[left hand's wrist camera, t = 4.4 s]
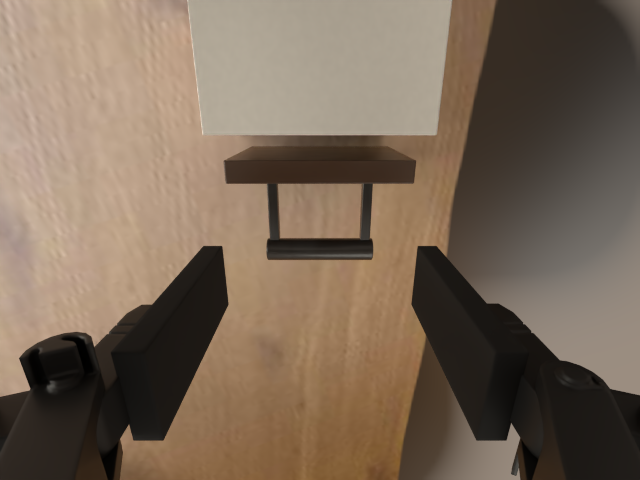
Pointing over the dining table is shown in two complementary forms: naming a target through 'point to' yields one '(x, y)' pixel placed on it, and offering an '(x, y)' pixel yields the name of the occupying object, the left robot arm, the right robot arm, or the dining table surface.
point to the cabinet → (319, 66)
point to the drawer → (319, 169)
